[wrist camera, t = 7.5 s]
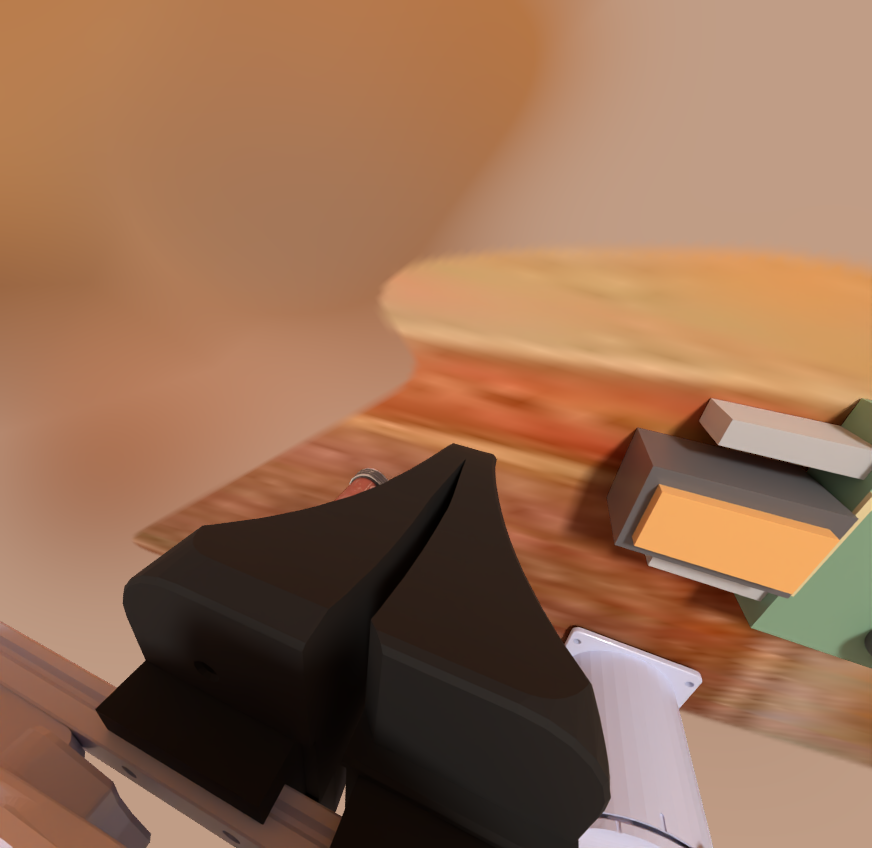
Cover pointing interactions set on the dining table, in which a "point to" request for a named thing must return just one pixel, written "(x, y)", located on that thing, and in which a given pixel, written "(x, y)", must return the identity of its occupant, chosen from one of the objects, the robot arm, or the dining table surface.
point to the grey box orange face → (724, 512)
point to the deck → (845, 564)
